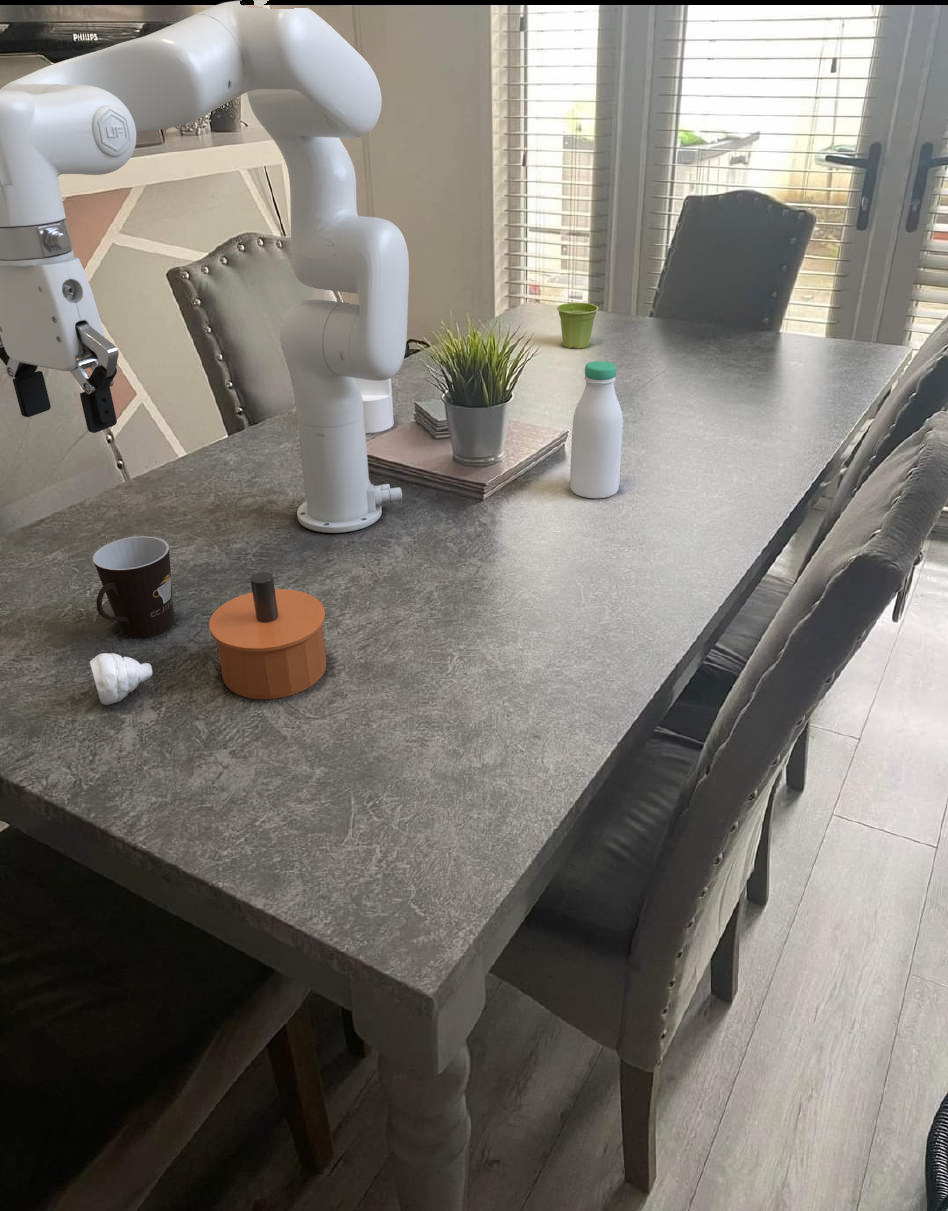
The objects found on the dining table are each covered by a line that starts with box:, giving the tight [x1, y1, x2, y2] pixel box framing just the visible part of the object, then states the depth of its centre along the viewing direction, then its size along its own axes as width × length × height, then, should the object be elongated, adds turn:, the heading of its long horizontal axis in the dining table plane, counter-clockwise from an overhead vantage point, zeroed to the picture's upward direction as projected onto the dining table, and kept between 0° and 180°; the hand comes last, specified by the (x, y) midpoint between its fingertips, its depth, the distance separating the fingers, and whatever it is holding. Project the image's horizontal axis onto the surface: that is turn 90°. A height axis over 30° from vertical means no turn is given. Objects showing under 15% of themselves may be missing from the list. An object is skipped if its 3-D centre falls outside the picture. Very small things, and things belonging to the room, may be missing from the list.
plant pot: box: [556, 302, 599, 349], centre depth 221 cm, size 9×9×9 cm
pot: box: [215, 624, 327, 700], centre depth 108 cm, size 12×12×6 cm
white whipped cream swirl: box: [89, 652, 153, 706], centre depth 104 cm, size 6×6×5 cm
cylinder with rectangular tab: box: [354, 377, 395, 434], centre depth 176 cm, size 9×9×12 cm
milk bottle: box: [569, 360, 624, 499], centre depth 147 cm, size 8×8×20 cm
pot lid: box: [208, 571, 326, 652], centre depth 105 cm, size 13×13×6 cm
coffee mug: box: [92, 535, 175, 640], centre depth 115 cm, size 12×9×10 cm
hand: (69, 420), depth 97 cm, fingers open, 9 cm apart
